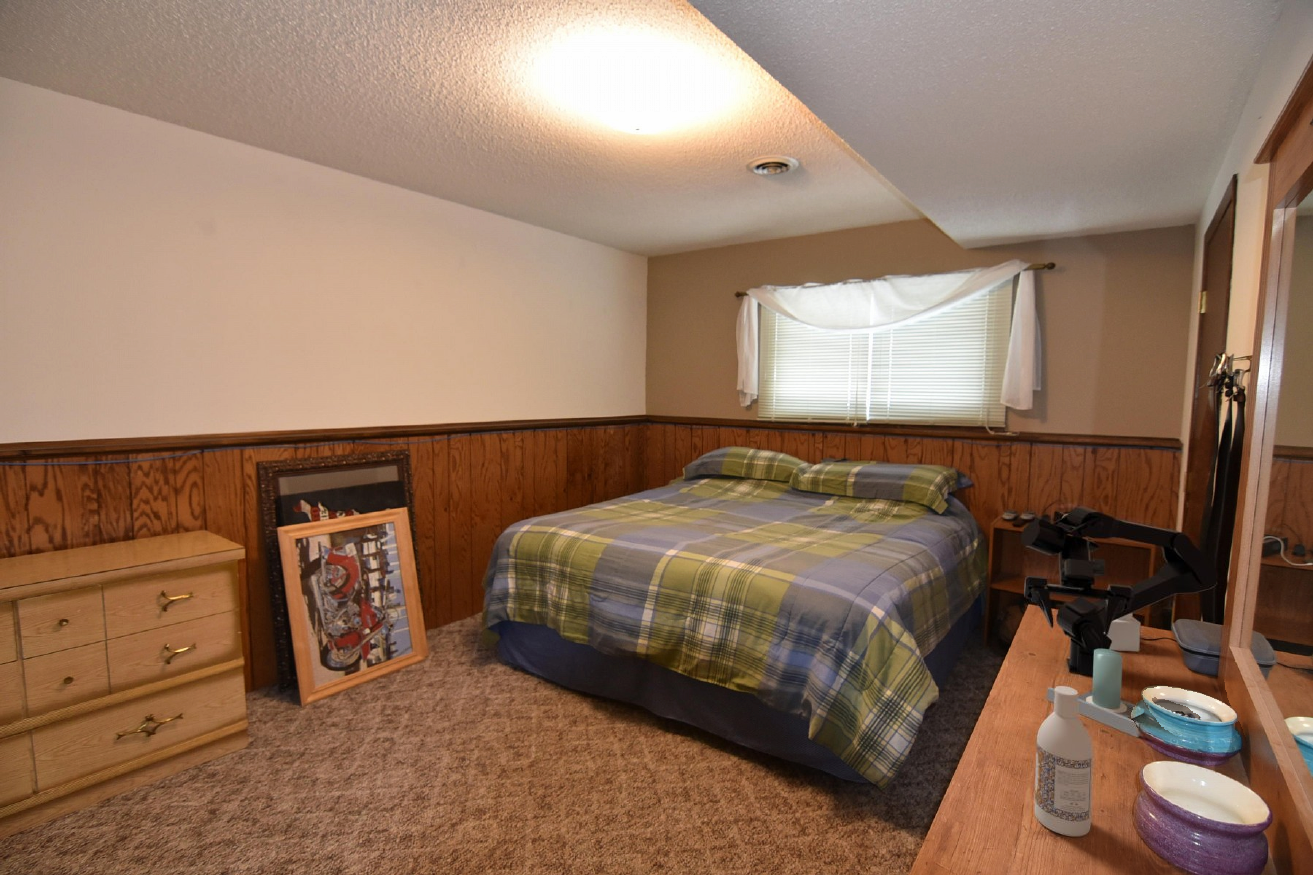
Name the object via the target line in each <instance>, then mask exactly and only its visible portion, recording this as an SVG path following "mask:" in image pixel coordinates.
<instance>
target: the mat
mask: <svg viewBox="0 0 1313 875" xmlns="http://www.w3.org/2000/svg"><path fill="white" fill-rule="evenodd" d="M1079 699H1081V700H1084V701H1086V702H1089V703H1091V704H1094V703H1093V702H1092V690H1089V691H1088V692H1085V693H1083V694H1082V695H1079ZM1094 705H1096V704H1094ZM1096 706H1098V705H1096ZM1135 706H1136V704H1134V703H1131V702H1128V701H1126V700H1123V699H1121V703H1120V708H1119V709H1107V708H1104V709H1106V710H1109V711H1111V712H1114V713H1116V714H1119V715H1121V716H1124V717H1126V718H1129V719H1131V712H1132V710H1133V707H1135ZM1099 707H1100V706H1099ZM1101 708H1103V707H1101Z"/></svg>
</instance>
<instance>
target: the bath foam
mask: <svg viewBox="0 0 1313 875" xmlns="http://www.w3.org/2000/svg"><path fill="white" fill-rule="evenodd" d="M1054 689H1055V698H1054V703H1053V712H1051V713H1050V715H1048V717H1046V719H1045V720H1044V721H1043V722H1042V724H1041V725H1040V726H1039V728H1038V732H1037V736H1036V749H1035V750H1036V752H1035V754H1036V755H1035V781H1034V783H1035V784H1034V814H1035V816H1036V819H1037V820H1038V821H1039V823H1040V824H1042V825H1043V826H1044V827H1045V828H1047V829H1049V830H1050V831H1053V832H1054V833H1057V834H1061V835H1063V836H1067V837H1082V836H1086V835H1087V834H1088V833H1089V832H1090V829H1091V824H1092V822H1091V820H1092V799H1093V798H1092V795H1093V774H1094V771H1093V769H1094V746H1093V742H1092V739H1091V736H1090V734H1089V732H1088V730H1087V729H1086V727H1085V725H1084V724H1083V722H1082V721H1081V719H1080V718H1079V716H1078V715H1079V713H1078V699H1079V696H1080V695H1079V692H1078V690H1076V689H1074V688H1073V687H1069V686H1065V685H1064V686H1063V685H1059V686H1058V685H1057V686H1056V687H1055V688H1054Z"/></svg>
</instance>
